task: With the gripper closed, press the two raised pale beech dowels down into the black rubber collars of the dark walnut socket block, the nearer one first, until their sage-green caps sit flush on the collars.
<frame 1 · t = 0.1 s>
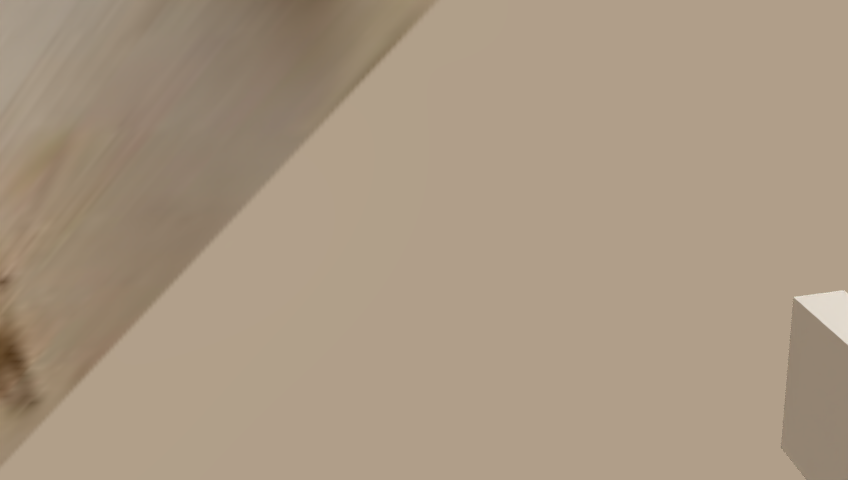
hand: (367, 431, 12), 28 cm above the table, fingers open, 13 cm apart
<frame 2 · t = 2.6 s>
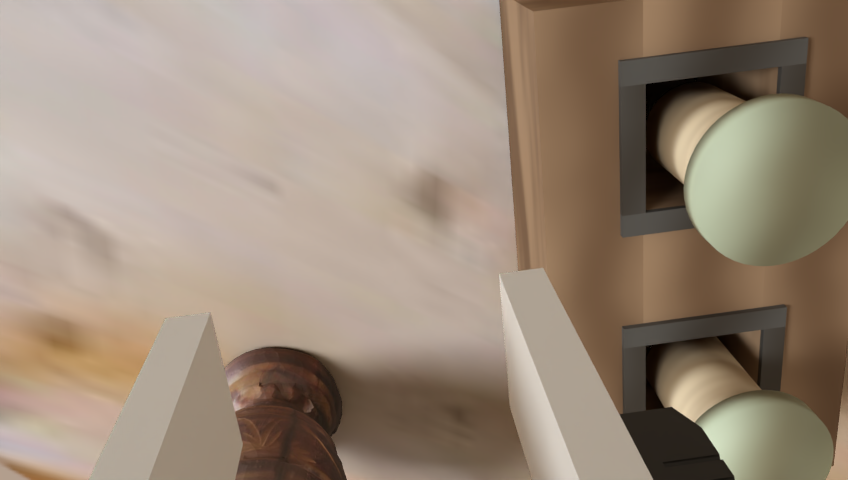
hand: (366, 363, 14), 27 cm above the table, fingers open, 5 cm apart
peg b: (729, 153, 31), point 10 cm above the table, slide at 0.0 cm
peg a: (718, 409, 35), point 10 cm above the table, slide at 0.0 cm
mortar and pestle: (298, 382, 45), on the table
socket block: (643, 208, 42), on the table
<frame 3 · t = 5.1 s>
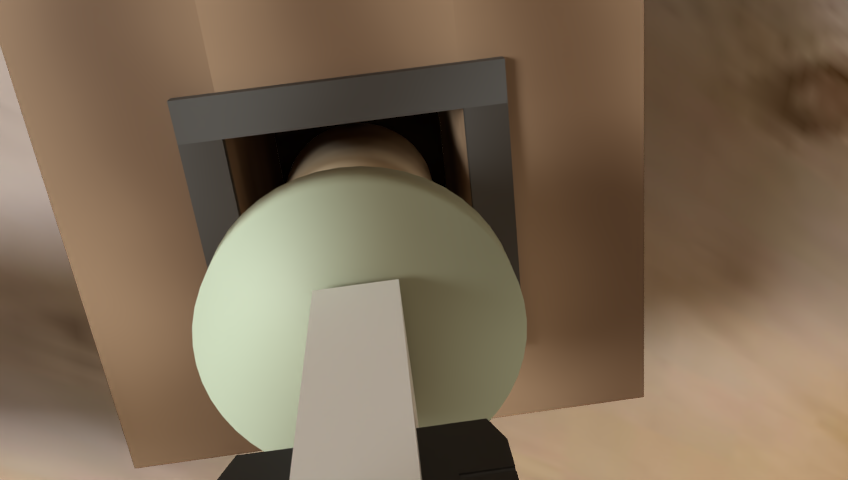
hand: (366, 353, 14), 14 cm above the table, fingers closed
peg a: (361, 253, 18), point 9 cm above the table, slide at 0.6 cm, touching gripper
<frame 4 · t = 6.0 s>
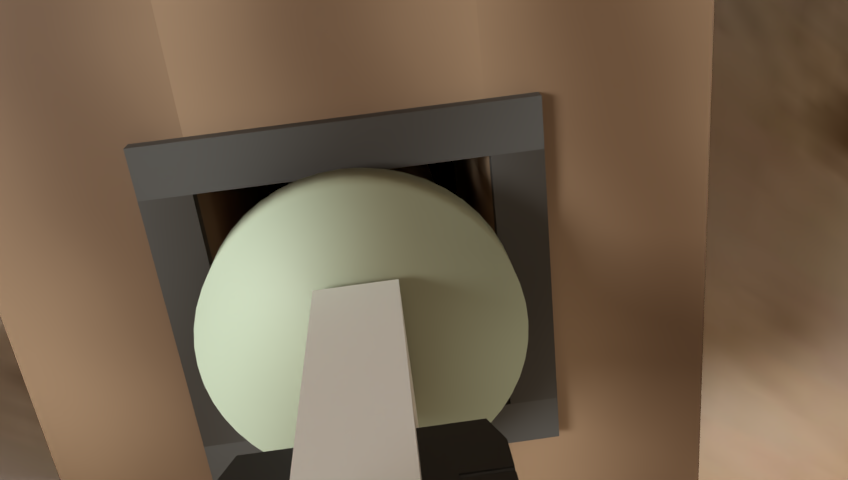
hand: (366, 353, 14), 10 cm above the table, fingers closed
peg a: (362, 254, 18), point 6 cm above the table, slide at 4.3 cm, touching gripper
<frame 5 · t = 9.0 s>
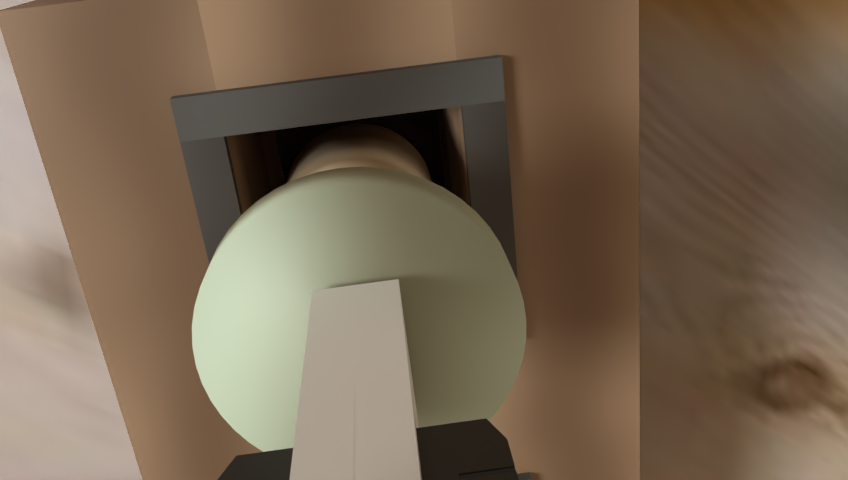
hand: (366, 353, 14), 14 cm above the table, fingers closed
peg b: (360, 253, 18), point 10 cm above the table, slide at 0.4 cm, touching gripper
socket block: (382, 295, 29), on the table
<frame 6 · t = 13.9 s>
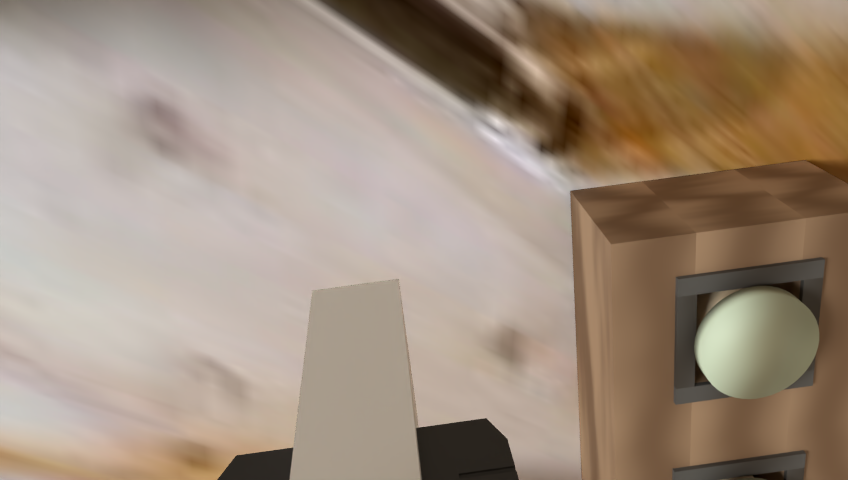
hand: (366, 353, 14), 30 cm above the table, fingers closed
peg b: (726, 311, 43), point 6 cm above the table, slide at 4.3 cm
socket block: (684, 351, 51), on the table
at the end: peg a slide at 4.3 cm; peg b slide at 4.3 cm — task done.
